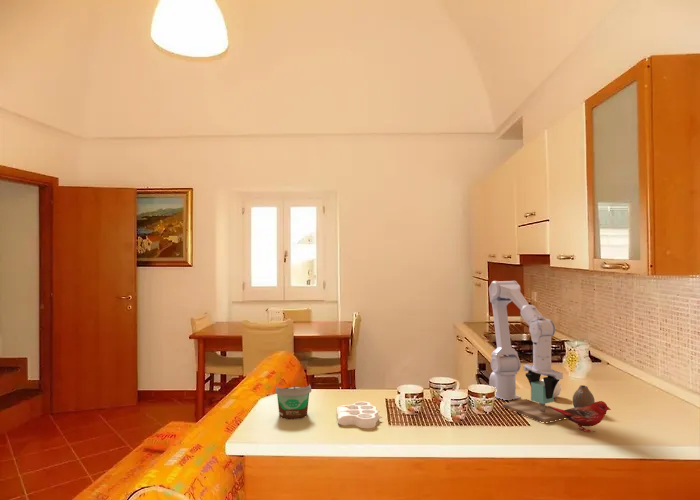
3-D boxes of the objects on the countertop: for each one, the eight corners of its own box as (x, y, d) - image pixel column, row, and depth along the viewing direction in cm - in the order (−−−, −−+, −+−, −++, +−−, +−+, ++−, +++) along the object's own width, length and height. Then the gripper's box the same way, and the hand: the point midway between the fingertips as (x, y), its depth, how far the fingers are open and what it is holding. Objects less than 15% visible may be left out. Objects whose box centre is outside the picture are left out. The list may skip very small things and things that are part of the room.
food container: (277, 422, 158) (277, 391, 158) (274, 416, 164) (274, 386, 164) (314, 418, 161) (314, 388, 161) (311, 412, 167) (311, 383, 167)
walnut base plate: (502, 408, 172) (502, 394, 172) (526, 403, 178) (526, 389, 178) (544, 423, 157) (544, 408, 157) (569, 417, 162) (569, 402, 162)
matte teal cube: (531, 400, 166) (530, 382, 166) (541, 397, 168) (541, 380, 168) (543, 404, 161) (543, 385, 161) (553, 401, 164) (553, 383, 164)
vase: (592, 409, 171) (592, 384, 171) (596, 415, 165) (596, 389, 165) (571, 407, 173) (571, 382, 173) (574, 413, 167) (574, 388, 167)
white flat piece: (335, 411, 170) (377, 410, 171) (338, 430, 152) (385, 429, 153) (335, 401, 170) (377, 401, 171) (338, 419, 152) (385, 418, 153)
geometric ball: (554, 404, 186) (568, 388, 185) (547, 400, 181) (561, 384, 180) (539, 390, 192) (552, 374, 191) (531, 386, 186) (545, 370, 185)
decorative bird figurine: (610, 437, 145) (610, 403, 145) (547, 426, 154) (547, 395, 154) (611, 434, 148) (611, 401, 148) (548, 424, 156) (548, 392, 156)
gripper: (516, 353, 169) (516, 392, 169) (552, 361, 157) (552, 403, 156) (531, 351, 173) (531, 389, 173) (566, 358, 160) (566, 400, 160)
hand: (542, 396), depth 165 cm, fingers closed on matte teal cube, 5 cm apart
